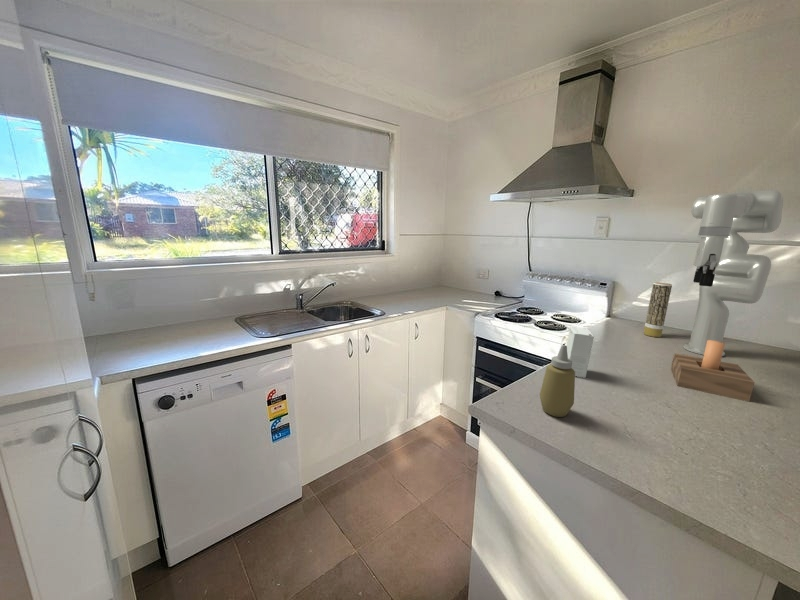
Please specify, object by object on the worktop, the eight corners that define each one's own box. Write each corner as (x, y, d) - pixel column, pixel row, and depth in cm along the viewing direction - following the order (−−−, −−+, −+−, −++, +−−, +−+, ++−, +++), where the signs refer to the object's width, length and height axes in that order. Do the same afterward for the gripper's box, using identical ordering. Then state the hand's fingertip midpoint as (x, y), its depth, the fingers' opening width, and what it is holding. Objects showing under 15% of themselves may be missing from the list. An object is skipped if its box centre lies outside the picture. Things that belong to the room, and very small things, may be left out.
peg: (696, 379, 107) (706, 339, 104) (712, 383, 105) (723, 341, 102) (698, 384, 104) (708, 342, 101) (715, 387, 102) (726, 345, 99)
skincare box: (562, 366, 114) (568, 325, 111) (581, 368, 113) (588, 327, 109) (566, 375, 106) (573, 332, 103) (587, 378, 105) (594, 334, 102)
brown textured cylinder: (664, 338, 151) (675, 285, 146) (647, 336, 152) (658, 284, 147) (656, 334, 157) (666, 283, 152) (640, 332, 159) (650, 282, 153)
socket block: (670, 369, 115) (674, 353, 114) (732, 381, 107) (737, 364, 105) (677, 385, 102) (681, 367, 101) (749, 401, 93) (754, 382, 92)
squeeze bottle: (570, 424, 79) (581, 354, 75) (535, 413, 83) (544, 346, 80) (573, 409, 86) (583, 344, 82) (540, 400, 90) (548, 338, 86)
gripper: (693, 233, 116) (683, 280, 120) (704, 232, 102) (692, 286, 106) (722, 233, 112) (710, 282, 116) (737, 233, 98) (724, 288, 102)
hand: (702, 284), depth 111 cm, fingers open, 9 cm apart
